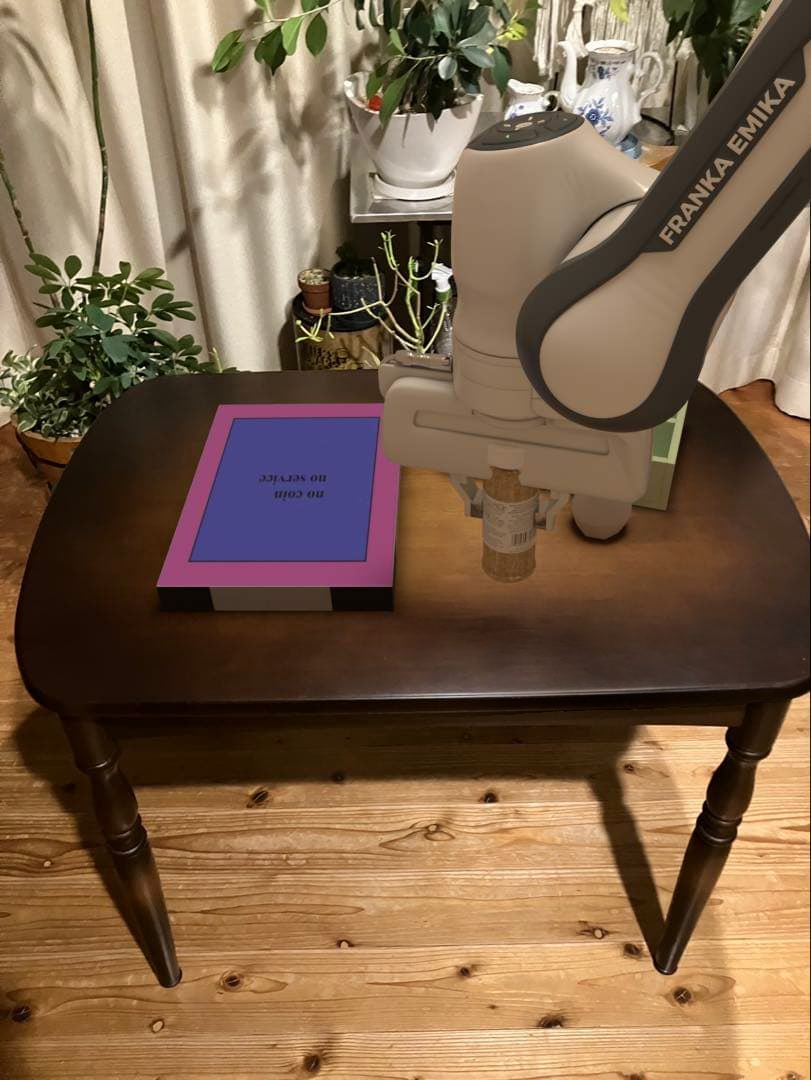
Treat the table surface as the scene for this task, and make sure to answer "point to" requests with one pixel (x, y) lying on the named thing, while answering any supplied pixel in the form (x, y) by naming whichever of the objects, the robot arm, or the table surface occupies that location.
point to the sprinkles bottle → (508, 517)
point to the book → (288, 514)
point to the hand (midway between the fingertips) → (510, 519)
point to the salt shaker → (599, 515)
